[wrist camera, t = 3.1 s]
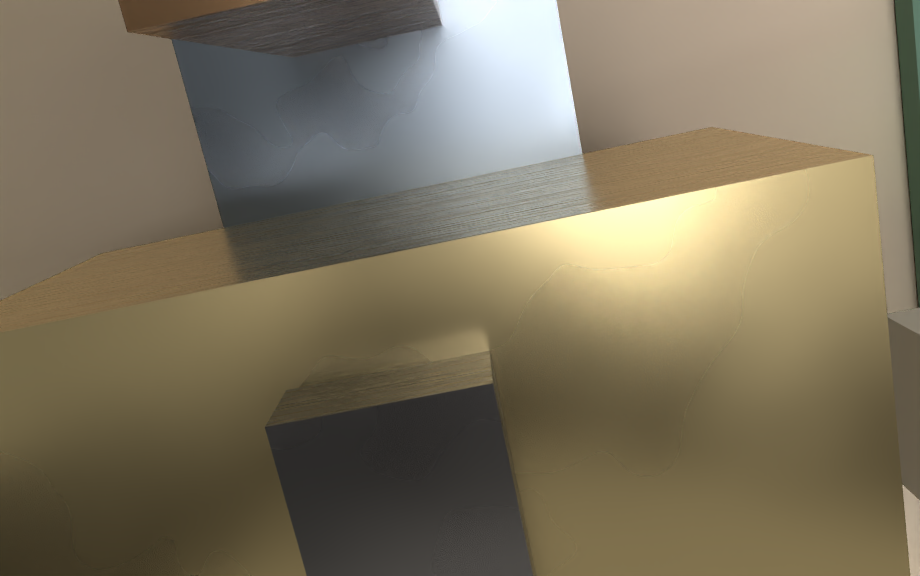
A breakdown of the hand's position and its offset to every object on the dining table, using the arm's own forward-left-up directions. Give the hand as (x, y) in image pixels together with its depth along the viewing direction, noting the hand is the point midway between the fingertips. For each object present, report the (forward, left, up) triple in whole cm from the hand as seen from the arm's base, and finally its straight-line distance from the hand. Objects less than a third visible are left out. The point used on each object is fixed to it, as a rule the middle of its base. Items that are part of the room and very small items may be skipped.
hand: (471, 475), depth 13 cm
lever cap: (0, 0, 0) cm, 1 cm away
